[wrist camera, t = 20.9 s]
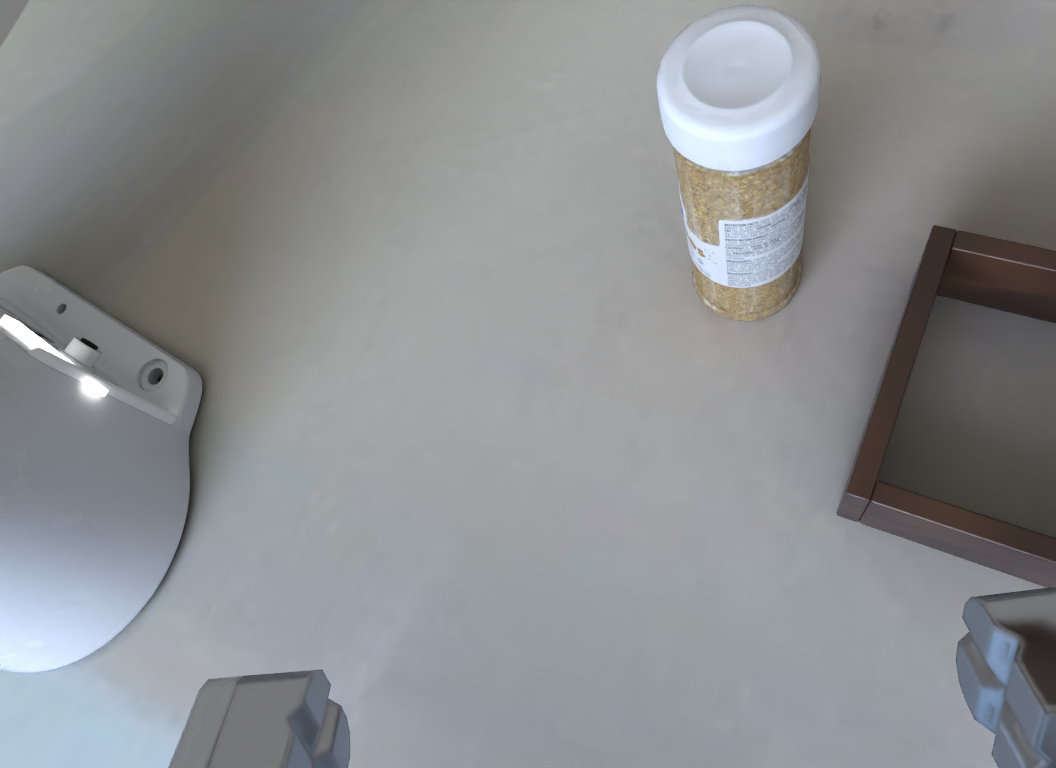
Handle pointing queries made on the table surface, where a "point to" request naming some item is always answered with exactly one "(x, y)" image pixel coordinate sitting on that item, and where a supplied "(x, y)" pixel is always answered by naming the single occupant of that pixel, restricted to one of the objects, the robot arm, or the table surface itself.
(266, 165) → the table surface
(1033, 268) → the caddy
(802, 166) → the sprinkles bottle
